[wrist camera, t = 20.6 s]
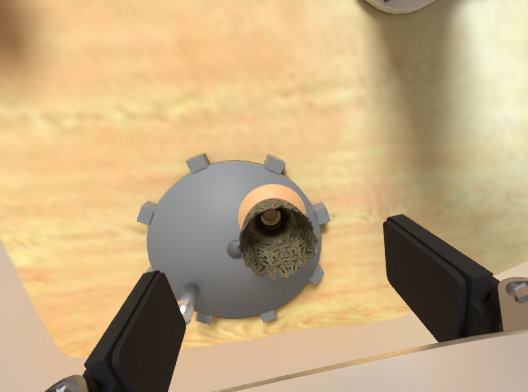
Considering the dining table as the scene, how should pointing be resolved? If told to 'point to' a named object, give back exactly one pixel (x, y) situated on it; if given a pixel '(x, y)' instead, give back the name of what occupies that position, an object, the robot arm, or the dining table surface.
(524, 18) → the dining table surface
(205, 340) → the dining table surface
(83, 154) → the dining table surface
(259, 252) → the cup
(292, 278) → the index wheel
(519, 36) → the dining table surface
